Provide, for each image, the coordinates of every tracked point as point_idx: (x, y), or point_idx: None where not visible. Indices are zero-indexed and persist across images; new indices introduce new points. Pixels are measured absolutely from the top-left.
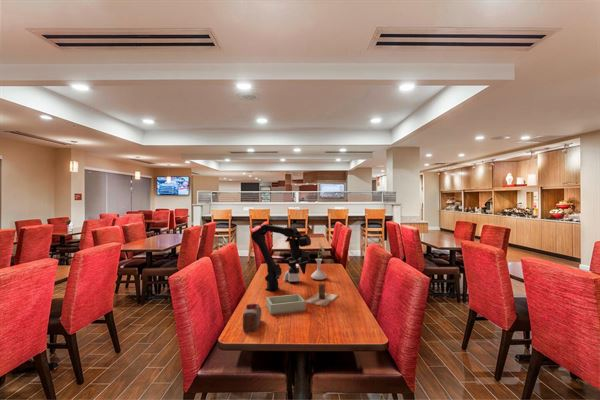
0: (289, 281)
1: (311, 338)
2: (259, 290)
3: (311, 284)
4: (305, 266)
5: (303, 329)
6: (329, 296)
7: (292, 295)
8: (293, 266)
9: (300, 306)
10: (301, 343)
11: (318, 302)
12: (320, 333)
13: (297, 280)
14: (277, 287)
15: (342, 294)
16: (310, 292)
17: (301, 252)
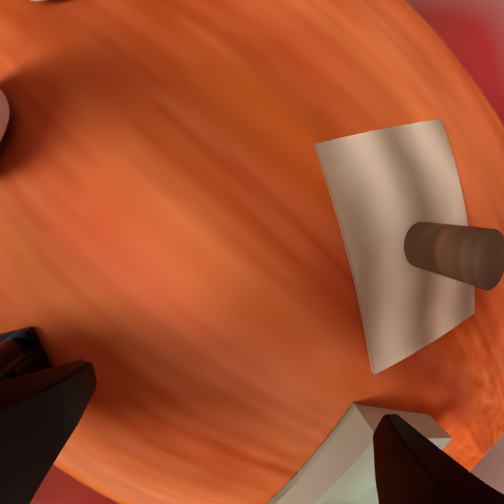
0: None
1: (485, 447)
2: None
3: (102, 49)
4: (485, 497)
5: (464, 453)
6: (431, 181)
7: (358, 467)
8: (10, 470)
9: None
10: (474, 465)
11: (441, 319)
12: (496, 425)
13: (3, 127)
14: (42, 366)
15: (425, 79)
16: (252, 191)
17: None
